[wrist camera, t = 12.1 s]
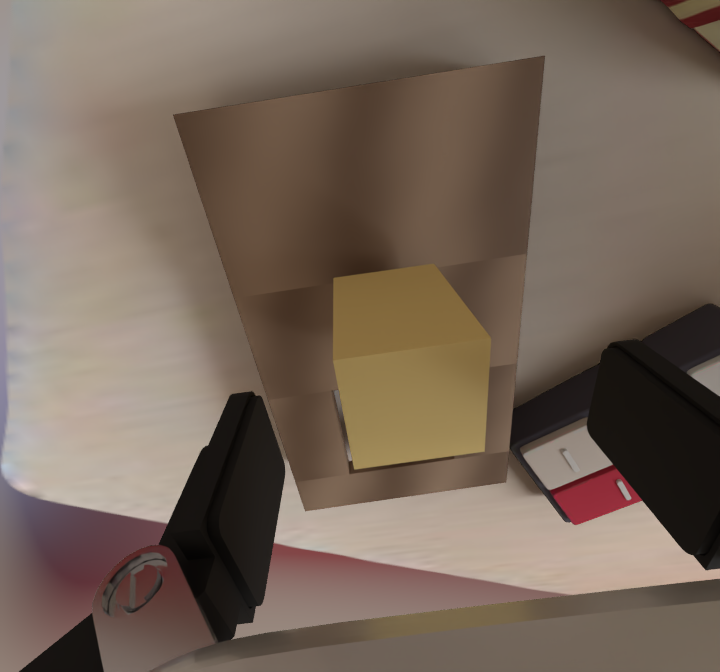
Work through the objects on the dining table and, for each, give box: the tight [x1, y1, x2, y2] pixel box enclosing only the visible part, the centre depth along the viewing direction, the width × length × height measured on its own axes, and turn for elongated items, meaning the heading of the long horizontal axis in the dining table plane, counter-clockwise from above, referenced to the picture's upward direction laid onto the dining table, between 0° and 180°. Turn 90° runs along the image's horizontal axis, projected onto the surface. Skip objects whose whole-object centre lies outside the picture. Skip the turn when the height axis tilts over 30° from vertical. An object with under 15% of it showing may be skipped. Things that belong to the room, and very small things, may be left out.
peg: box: [333, 264, 491, 470], centre depth 15 cm, size 5×5×12 cm
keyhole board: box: [173, 56, 545, 511], centre depth 20 cm, size 13×22×4 cm, turn 8°
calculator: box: [509, 304, 720, 525], centre depth 25 cm, size 11×4×15 cm
